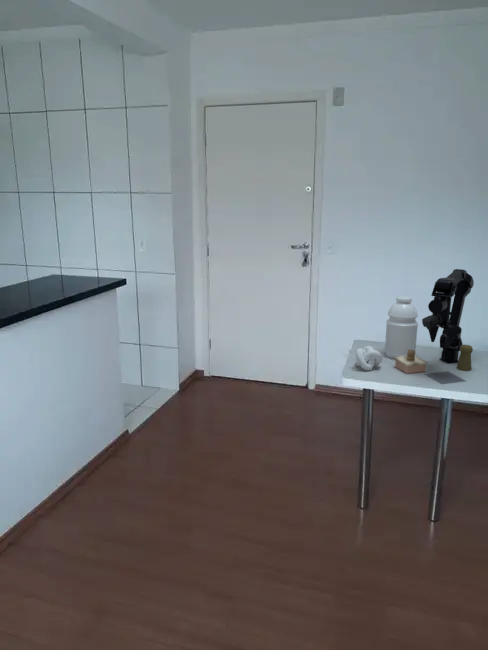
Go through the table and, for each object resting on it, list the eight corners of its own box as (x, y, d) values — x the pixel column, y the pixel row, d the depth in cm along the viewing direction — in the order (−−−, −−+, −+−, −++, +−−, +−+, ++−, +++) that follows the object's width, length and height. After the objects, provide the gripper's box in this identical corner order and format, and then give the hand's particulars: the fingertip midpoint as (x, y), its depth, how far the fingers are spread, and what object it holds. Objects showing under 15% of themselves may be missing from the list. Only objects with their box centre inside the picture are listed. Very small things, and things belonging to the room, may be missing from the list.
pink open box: (412, 365, 231) (413, 357, 230) (425, 372, 223) (425, 363, 222) (395, 367, 229) (395, 359, 228) (406, 374, 221) (407, 365, 220)
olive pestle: (464, 372, 223) (467, 348, 220) (453, 368, 228) (455, 344, 225) (474, 370, 225) (477, 346, 223) (463, 366, 231) (465, 342, 228)
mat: (447, 372, 223) (447, 371, 223) (466, 382, 212) (466, 381, 212) (423, 375, 220) (423, 374, 220) (441, 385, 209) (441, 384, 209)
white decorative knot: (370, 374, 221) (372, 354, 219) (346, 368, 229) (347, 348, 227) (384, 368, 229) (385, 348, 226) (360, 362, 237) (361, 343, 234)
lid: (413, 356, 231) (414, 346, 230) (427, 363, 222) (428, 353, 220) (393, 358, 228) (394, 348, 227) (406, 366, 219) (407, 355, 218)
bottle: (378, 353, 248) (381, 296, 241) (399, 349, 255) (404, 293, 247) (399, 362, 236) (404, 301, 229) (421, 357, 243) (426, 298, 235)
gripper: (413, 305, 223) (410, 340, 227) (440, 315, 206) (436, 353, 210) (435, 304, 226) (432, 338, 230) (464, 313, 209) (460, 350, 213)
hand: (439, 345), depth 221 cm, fingers open, 9 cm apart
